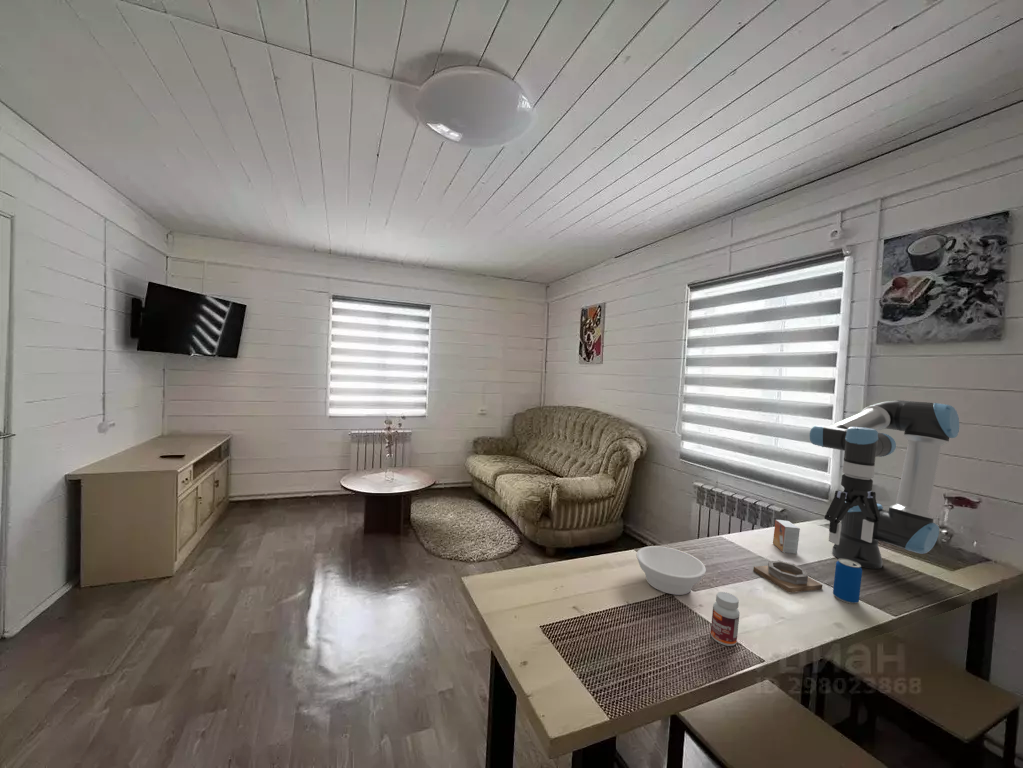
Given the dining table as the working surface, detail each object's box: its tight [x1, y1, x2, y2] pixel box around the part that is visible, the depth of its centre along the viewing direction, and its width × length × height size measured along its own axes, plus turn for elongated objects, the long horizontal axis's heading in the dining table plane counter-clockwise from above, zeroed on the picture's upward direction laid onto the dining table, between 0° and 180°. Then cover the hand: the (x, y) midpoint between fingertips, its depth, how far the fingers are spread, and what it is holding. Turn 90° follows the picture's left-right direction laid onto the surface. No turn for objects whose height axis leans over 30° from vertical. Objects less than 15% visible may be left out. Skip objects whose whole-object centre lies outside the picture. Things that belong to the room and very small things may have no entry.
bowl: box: [636, 545, 707, 596], centre depth 132 cm, size 21×21×8 cm
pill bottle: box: [710, 591, 740, 647], centre depth 106 cm, size 6×6×11 cm
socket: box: [753, 559, 823, 593], centre depth 141 cm, size 14×14×4 cm
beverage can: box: [832, 558, 863, 605], centre depth 130 cm, size 6×6×12 cm
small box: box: [772, 519, 801, 555], centre depth 167 cm, size 8×6×10 cm
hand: (850, 542), depth 130 cm, fingers open, 13 cm apart
